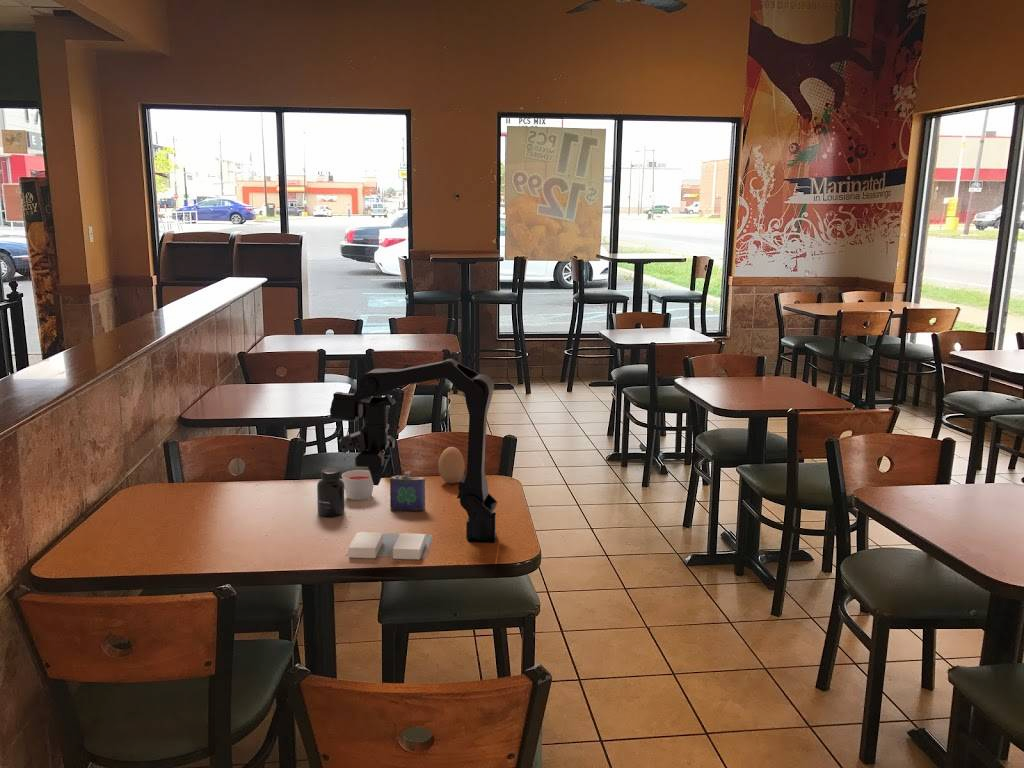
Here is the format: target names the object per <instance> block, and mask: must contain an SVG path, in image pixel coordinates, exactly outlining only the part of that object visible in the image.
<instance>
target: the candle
mask: <svg viewBox="0 0 1024 768" xmlns="http://www.w3.org/2000/svg"><path fill="white" fill-rule="evenodd" d="M341 480H342V481H343V482H344V494H345V496H346V497H345V498H346V499H348V500H351V501H364V500H369V499H370V498H371V497H372V496H373V490H374V486H375V485H374V484H373V481H372V477H371V474H370V471H369V469H368V470H367V469H354V470H348V471H345V472H343V473H342V474H341Z"/></svg>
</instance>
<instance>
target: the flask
mask: <svg viewBox="0 0 1024 768" xmlns="http://www.w3.org/2000/svg"><path fill="white" fill-rule="evenodd" d="M410 474H411V470H408V471H405V472H404V474H403V475H401V474H400V475H399V474H397V475H396V476H391V477H390V479H389V481H390V483H389V485H390V487H389V489H390V490H389V493H390V494H389V495H390V497H389V498H390V500H389V502H390V503H389V506H390V511H391V512H398V513H420V512H421V513H422V512H423V513H424V512H425V511H426V478H425V477H424V476H413V477H412V476H411V475H410Z"/></svg>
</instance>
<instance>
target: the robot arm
mask: <svg viewBox="0 0 1024 768" xmlns="http://www.w3.org/2000/svg"><path fill="white" fill-rule="evenodd" d="M441 379H446V380H447V381H449V382H450V383H451V384H452V386H454V387H455V388H456V389H458V390H459V391H461V392H462V393H463V394H464V396H465V397H464V398H465V404H466V409H467V411H468V415H469V419H468V436H467V437H468V441H467V463H466V474H463V476H462V477H461V479H460V480H459V481H458V482H457V483H458V484H457V486H458V487H457V488H458V494H457V498H456V499H459V504H460V506H461V507H462V508H463V509H464V510H465V511H466V513H467V516H468V518H466V522H465V523H466V524H465V525H466V526H465V527H466V529H465V530H466V532H465V533H466V534H465V535H466V539H467V542H468V543H481V544H482V543H484V544H487V543H488V544H495V543H496V540H497V531H496V530H497V523H496V522H497V513H496V512H494V511H495V510H496V507H497V505H498V501H497V500H496V498H494V497H493V496H492V495H491V493H489V484H488V479H487V477H486V476H487V475H486V472H485V464H486V463H485V460H486V459H485V457H486V441H487V420H488V419H487V418H488V417H487V416H488V412H489V409H490V405H491V401H492V399H493V398H492V397H493V394H494V389H495V386H494V385H495V383H494V381H493V380H492V378H491V377H490V376H488V375H486V374H484V373H483V374H480V373H478V372H477V371H475V370H474V369H471V368H470V367H467V366H465V365H463V364H461V363H460V362H459V361H457V360H456V359H454V358H447V359H445V360H442V361H441V360H440V361H436V362H435V361H434V362H431V363H425V364H420V365H415V366H409V367H405V368H388V367H387V368H385V367H384V368H374V369H372V370H370V371H368V372H366V373H365V374H363V375H361V378H360V380H359V387H358V388H357V389H356V391H355V392H354V393H351V392H342V391H336V392H334V393H333V395H332V396H333V398H332V401H331V404H330V408H329V413H330V414H329V415H330V418H331V420H332V421H337V422H339V421H342V422H343V421H344V422H357V421H358V420H359V418H362V427H361V429H359V431H356V432H353V433H349V434H347V435H343V436H342V437H341V438H340V439H339V440H338V443H339V444H338V445H339V446H338V448H339V449H340V450H341V451H342V452H343V454H347V453H349V451H352V450H356V449H358V448H359V449H360V450H359V451H360V452H359V453H357V455H356V457H354V466H355V467H365V468H368V471H370V474H371V477H372V481H373V484H374V485H373V486H379V485H380V483H381V479H382V477H383V474H384V472H385V469H386V467H387V464H388V461H389V459H390V457H391V453H389V452H387V453H386V450H387V448H388V447H389V448H390V450H394V448H395V446H396V444H395V443H396V441H395V440H396V439H395V438H394V436H392V435H388V434H389V433H388V430H389V429H390V424H389V423H388V407H391V406H393V405H394V404H395V403H396V401H397V400H396V399H395V398H393V397H392V396H391V394H390V393H388V394H385V393H387V392H389V391H392V390H395V389H396V388H397V389H398V388H399V387H403V386H408V385H413V384H419V383H423V382H425V383H426V382H430V381H434V380H435V381H436V380H441ZM382 394H385V395H384V396H381V395H382ZM379 395H380V396H379ZM366 397H370V398H371V399H365V398H366Z"/></svg>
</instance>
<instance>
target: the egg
mask: <svg viewBox="0 0 1024 768" xmlns="http://www.w3.org/2000/svg"><path fill="white" fill-rule="evenodd" d="M437 463H438V467H437V468H438V473H439V476H440V477H441V479H442V480H443V481H444V482H445V483H447V484H450V485H451V484H452V485H453V484H456V483H458V482H459V480H460V479H461V478H462V476H463V475H465V474H464V473H465V469H466V466H465V465H466V463H465V460H464V456H463V454H462V453H461V451H460V450H459V449H458V448H456V447H454V446H449V447H447V448H445V449H444V450H443V452H441V455H440V457H439V459H438V462H437Z"/></svg>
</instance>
